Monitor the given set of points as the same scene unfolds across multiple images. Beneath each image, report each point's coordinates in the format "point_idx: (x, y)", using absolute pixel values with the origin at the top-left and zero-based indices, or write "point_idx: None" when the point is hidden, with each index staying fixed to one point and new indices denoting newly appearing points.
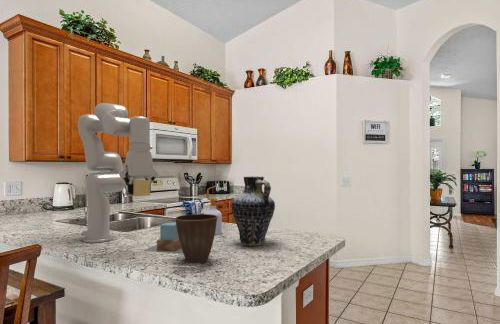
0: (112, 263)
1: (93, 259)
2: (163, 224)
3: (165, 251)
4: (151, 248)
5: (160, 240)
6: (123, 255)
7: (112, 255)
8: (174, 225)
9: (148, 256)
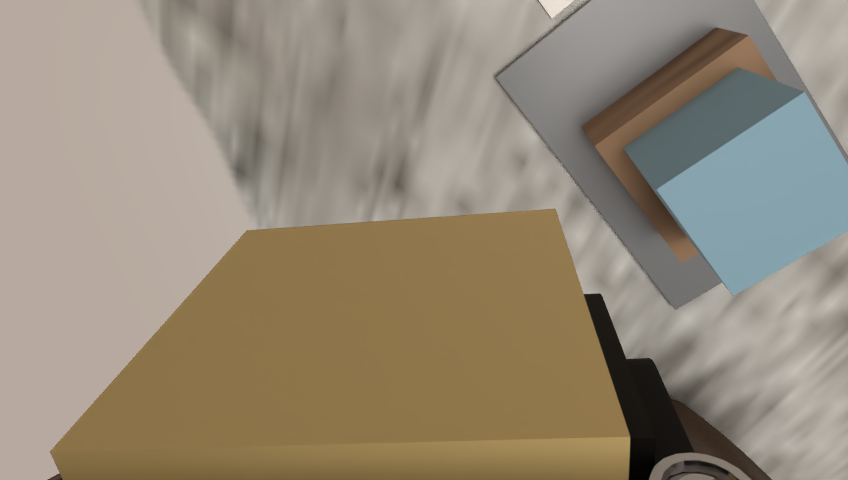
0: (268, 219)
1: (173, 58)
2: (696, 182)
3: (610, 196)
4: (574, 47)
5: (612, 170)
6: (357, 77)
7: (292, 28)
8: (745, 287)
9: (484, 202)
